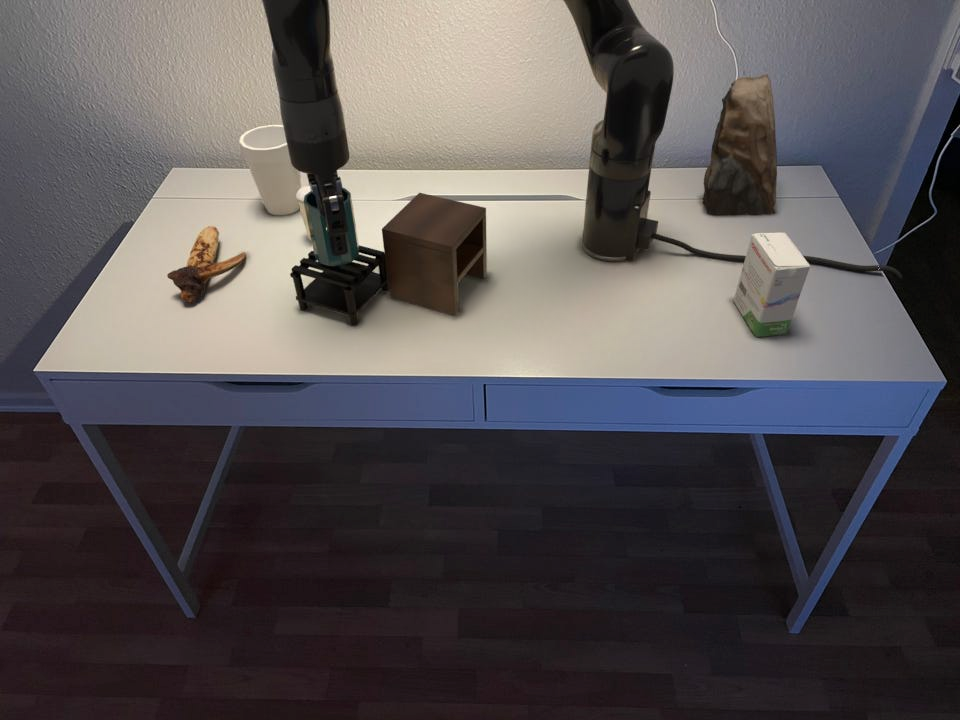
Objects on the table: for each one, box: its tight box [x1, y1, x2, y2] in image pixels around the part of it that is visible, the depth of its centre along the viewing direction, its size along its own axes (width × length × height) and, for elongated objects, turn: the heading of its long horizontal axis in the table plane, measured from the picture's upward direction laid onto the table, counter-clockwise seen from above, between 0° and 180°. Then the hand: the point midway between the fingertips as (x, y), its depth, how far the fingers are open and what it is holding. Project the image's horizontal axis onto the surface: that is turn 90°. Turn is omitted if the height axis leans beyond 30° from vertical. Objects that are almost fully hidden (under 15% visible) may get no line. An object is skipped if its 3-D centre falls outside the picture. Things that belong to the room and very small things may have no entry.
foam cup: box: [238, 124, 302, 216], centre depth 124 cm, size 10×9×13 cm
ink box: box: [732, 231, 811, 338], centre depth 99 cm, size 8×5×12 cm, turn 6°
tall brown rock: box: [701, 73, 778, 216], centre depth 121 cm, size 13×13×20 cm
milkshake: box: [296, 185, 312, 242], centre depth 117 cm, size 4×5×10 cm
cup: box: [304, 187, 360, 266], centre depth 100 cm, size 6×6×9 cm
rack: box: [289, 244, 389, 327], centre depth 106 cm, size 10×10×7 cm
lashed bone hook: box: [166, 226, 246, 303], centre depth 112 cm, size 9×5×18 cm
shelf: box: [381, 192, 488, 317], centre depth 106 cm, size 11×11×12 cm
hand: (335, 240), depth 101 cm, fingers closed on cup, 6 cm apart
